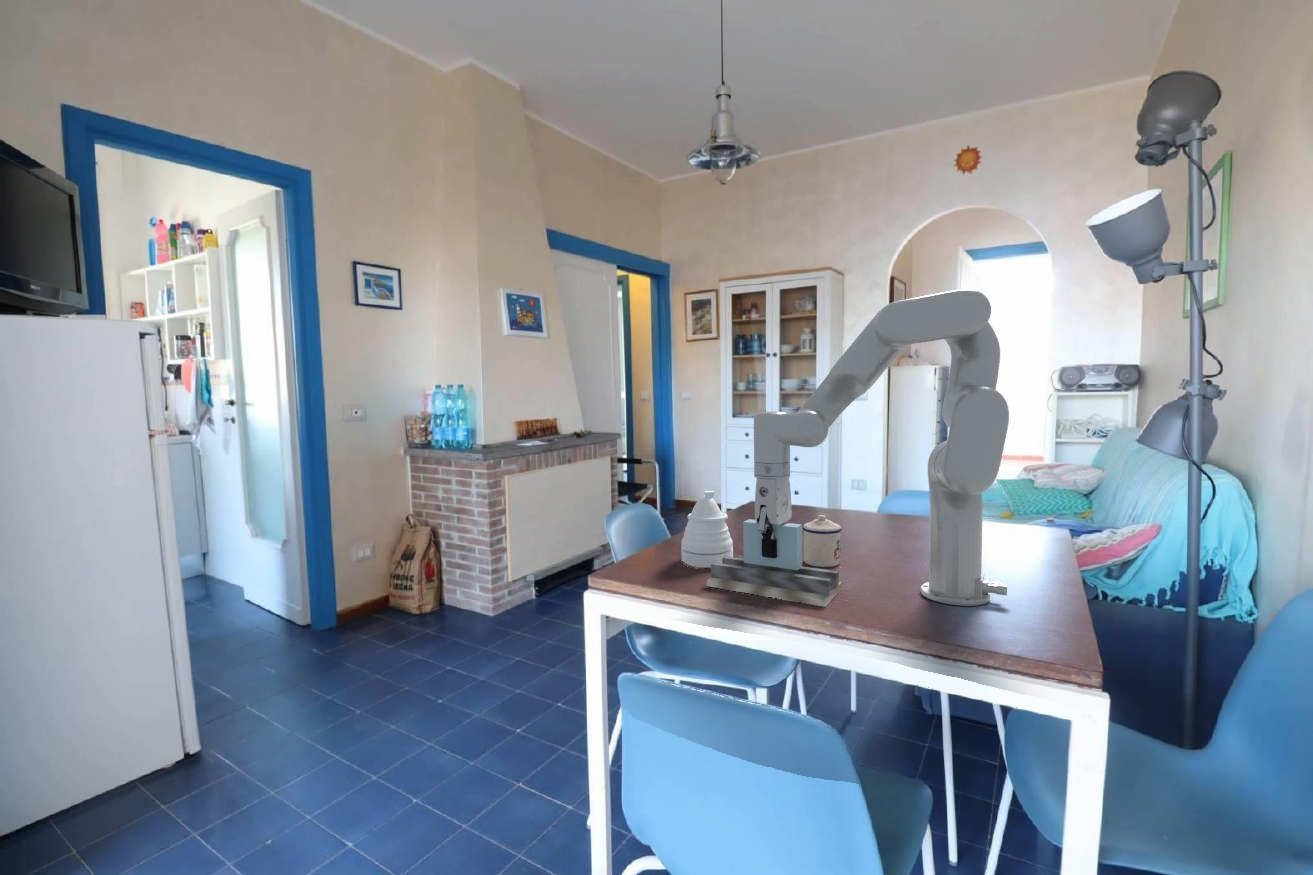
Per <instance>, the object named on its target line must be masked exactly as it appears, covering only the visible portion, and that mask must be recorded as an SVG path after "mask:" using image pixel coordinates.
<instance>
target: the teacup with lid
mask: <svg viewBox="0 0 1313 875" xmlns="http://www.w3.org/2000/svg"><path fill="white" fill-rule="evenodd" d="M802 531H803V562H804V563H805V564H807V565H809V566H812V567H815V568H832V567H838V566H839V565H840V564H841V559H842V558H841V548H842V547H841V545H842V544H841V543H842V542H841V540H842V539H841V532H842V527H841V525H840V524H838V523H835V522H833V521H832V520H829V519H827V516H826V515H824V514H819V515H818V516H817V518H815V519H813V520H812V521H809V522H806V523H804V525H802Z"/></svg>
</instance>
